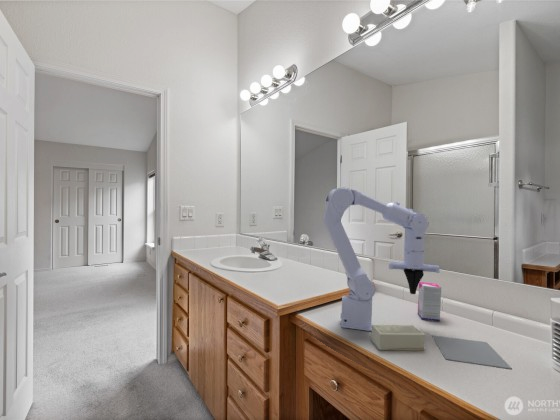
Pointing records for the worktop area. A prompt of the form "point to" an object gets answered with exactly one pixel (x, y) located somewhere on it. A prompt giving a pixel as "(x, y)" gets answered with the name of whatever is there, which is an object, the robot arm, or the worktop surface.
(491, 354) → the rubber mat
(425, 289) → the supplement box
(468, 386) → the worktop surface
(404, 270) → the robot arm
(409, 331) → the skincare box
